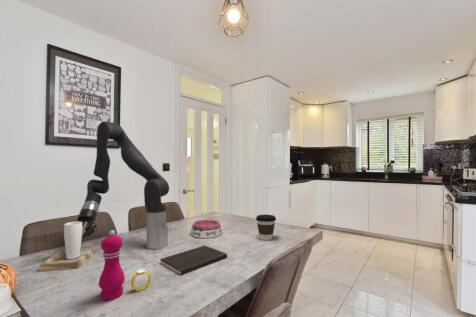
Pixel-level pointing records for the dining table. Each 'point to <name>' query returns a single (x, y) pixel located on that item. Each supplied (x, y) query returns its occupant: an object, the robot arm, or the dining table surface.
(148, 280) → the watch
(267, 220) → the coffee cup
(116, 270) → the pepper mill
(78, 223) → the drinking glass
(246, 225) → the dining table surface
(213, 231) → the dog bowl
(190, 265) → the hardcover book
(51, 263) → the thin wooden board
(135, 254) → the dining table surface
